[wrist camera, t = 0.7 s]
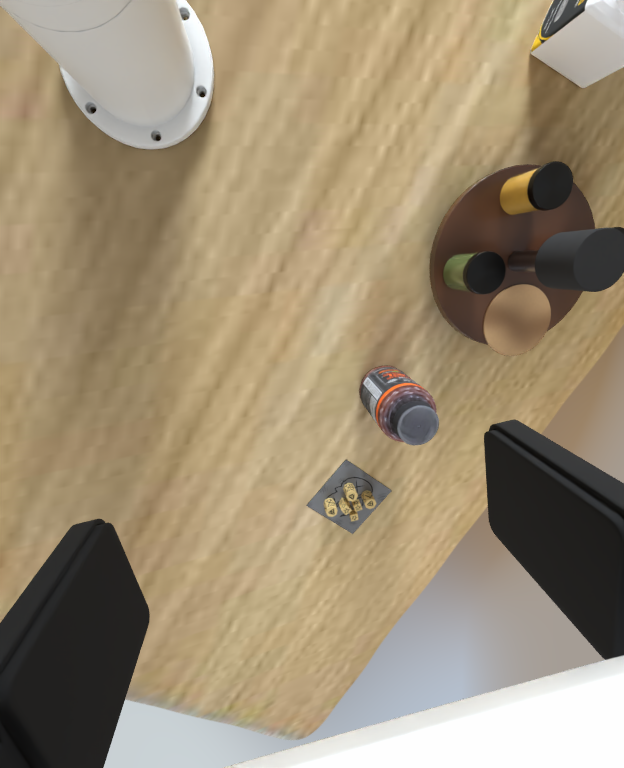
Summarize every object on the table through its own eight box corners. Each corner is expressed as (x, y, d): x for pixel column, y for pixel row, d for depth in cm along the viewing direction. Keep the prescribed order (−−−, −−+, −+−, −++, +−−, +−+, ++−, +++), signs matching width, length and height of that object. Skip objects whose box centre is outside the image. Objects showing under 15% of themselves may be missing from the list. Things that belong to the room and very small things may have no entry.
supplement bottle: (409, 365, 45) (456, 396, 34) (402, 412, 47) (444, 456, 36) (360, 362, 44) (393, 394, 33) (355, 410, 46) (383, 455, 35)
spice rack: (422, 182, 38) (491, 149, 26) (592, 154, 39) (724, 110, 28) (435, 367, 44) (495, 403, 33) (581, 337, 45) (687, 361, 34)
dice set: (321, 504, 49) (323, 513, 47) (346, 475, 48) (349, 483, 47) (350, 522, 51) (353, 532, 49) (375, 494, 50) (379, 503, 48)
